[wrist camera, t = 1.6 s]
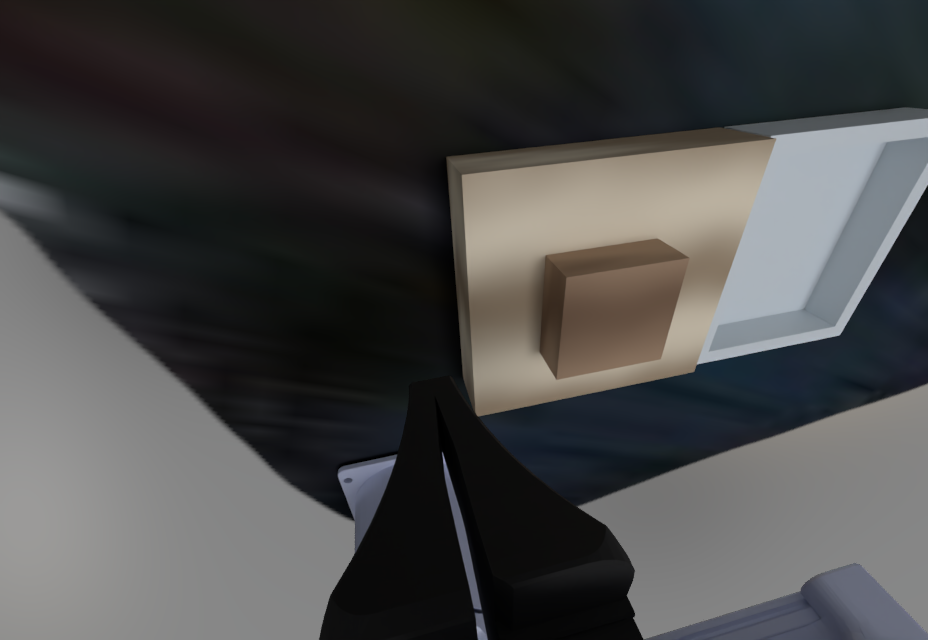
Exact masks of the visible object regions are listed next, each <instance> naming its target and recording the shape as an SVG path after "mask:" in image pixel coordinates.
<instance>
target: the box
mask: <svg viewBox="0 0 928 640" xmlns="http://www.w3.org/2000/svg"><path fill="white" fill-rule="evenodd" d="M724 128H725V129H730V130H735V131H740V132H745V133H751V134H756V135H761V136H766V137H771V138H776V141H775V144H774V147H773V150H772V153H771V155H770V158H769V161H768V164H767V167H766V170H765V172H764V175H763V178H762V181H761V184H760V187H759V189H758V192H757V195H756V198H755V201H754V204H753V206H752V209H751V212H750V215H749V218H748V221H747V223H746V226H745V229H744V232H743V235H742V238H741V240H740V243H739V246H738V249H737V252H736V255H735V257H734V260H733V263H732V266H731V269H730V271H729V274H728V277H727V280H726V283H725V286H724V288H723V291H722V294H721V297H720V300H719V303H718V305H717V308H716V311H715V314H714V317H713V320H712V322H711V325H710V328H709V331H708V334H707V337H706V339H705V342H704V345H703V348H702V351H701V354H700V356H699V359H698V362H697V364H701V363H706V362H711V361H716V360H721V359H726V358H731V357H735V356H740V355H745V354H750V353H755V352H760V351H765V350H770V349H775V348H780V347H785V346H789V345H794V344H799V343H804V342H809V341H814V340H819V339H824V338H829V337H834V336H839V335H840V334H841V332H842V331H843V329H844V327H845V326H846V324H847V322H848V320H849V319H850V317H851V315H852V314H853V312H854V310H855V308H856V307H857V305H858V303H859V302H860V300H861V298H862V296H863V295H864V293H865V291H866V290H867V288H868V286H869V284H870V283H871V281H872V279H873V278H874V276H875V274H876V273H877V271H878V269H879V267H880V266H881V264H882V262H883V261H884V259H885V257H886V255H887V254H888V252H889V250H890V249H891V247H892V245H893V243H894V242H895V240H896V238H897V237H898V235H899V233H900V231H901V230H902V228H903V226H904V225H905V223H906V221H907V220H908V218H909V216H910V214H911V213H912V211H913V209H914V208H915V206H916V204H917V202H918V201H919V199H920V197H921V196H922V194H923V192H924V190H925V189H926V187H927V185H928V109H918V108H907V107H904V108H895V109H886V110H876V111H867V112H858V113H849V114H839V115H830V116H821V117H811V118H802V119H793V120H784V121H774V122H765V123H756V124H746V125H737V126H728V127H724Z"/></svg>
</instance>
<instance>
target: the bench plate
mask: <svg viewBox="0 0 928 640" xmlns="http://www.w3.org/2000/svg"><path fill="white" fill-rule="evenodd" d="M775 141H776V138H771V137H766V136H761V135H756V134H751V133H745V132H740V131H735V130H730V129H725V128H720V127H719V128H709V129H700V130H691V131H681V132H672V133H663V134H654V135H644V136H635V137H626V138H616V139H607V140H598V141H589V142H579V143H570V144H561V145H551V146H542V147H533V148H523V149H514V150H505V151H496V152H486V153H477V154H468V155H458V156H449V157H446V160H447V173H448V186H449V199H450V212H451V225H452V238H453V251H454V264H455V277H456V290H457V303H458V316H459V329H460V342H461V355H462V368H463V379H464V382H465V385H466V388H467V391H468V394H469V398H470V401H471V404H472V407H473V410H474V412H475V413H476V415H477V416H482V415H487V414H492V413H497V412H502V411H507V410H512V409H516V408H521V407H526V406H531V405H536V404H541V403H545V402H550V401H555V400H560V399H565V398H570V397H575V396H579V395H584V394H589V393H594V392H599V391H604V390H608V389H613V388H618V387H623V386H628V385H633V384H638V383H642V382H647V381H652V380H657V379H662V378H667V377H671V376H676V375H681V374H686V373H691V372H694V371H695V368H696V365H697V362H698V359H699V356H700V354H701V351H702V348H703V345H704V342H705V339H706V337H707V334H708V331H709V328H710V325H711V322H712V320H713V317H714V314H715V311H716V308H717V305H718V303H719V300H720V297H721V294H722V291H723V288H724V286H725V283H726V280H727V277H728V274H729V271H730V269H731V266H732V263H733V260H734V257H735V255H736V252H737V249H738V246H739V243H740V240H741V238H742V235H743V232H744V229H745V226H746V223H747V221H748V218H749V215H750V212H751V209H752V206H753V204H754V201H755V198H756V195H757V192H758V189H759V187H760V184H761V181H762V178H763V175H764V172H765V170H766V167H767V164H768V161H769V158H770V155H771V153H772V150H773V147H774V144H775ZM657 238H658V239H660V240H661V241H663V242H665V243H666V244H668V245H669V246H671V247H673V248H674V249H676V250H678V251H679V252H681V253H683V254H684V255H686V256H687V257H689V258H690V259H689V262H688V266H687V269H686V273H685V276H684V280H683V283H682V287H681V290H680V294H679V298H678V301H677V305H676V308H675V312H674V315H673V319H672V322H671V326H670V329H669V333H668V336H667V340H666V343H665V347H664V350H663V354H662V357H661V359H660V360H655V361H650V362H645V363H640V364H634V365H629V366H624V367H619V368H614V369H609V370H604V371H599V372H594V373H589V374H584V375H579V376H574V377H569V378H564V379H559V380H556V378H555V377H554V375H553V374H552V372H551V370H550V369H549V367H548V365H547V364H546V362H545V360H544V359H543V357H542V355H541V354H540V336H541V320H542V304H543V288H544V273H545V257H546V255H550V254H557V253H564V252H570V251H577V250H584V249H590V248H597V247H604V246H610V245H617V244H624V243H630V242H637V241H644V240H650V239H657Z"/></svg>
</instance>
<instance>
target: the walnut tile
mask: <svg viewBox="0 0 928 640" xmlns="http://www.w3.org/2000/svg"><path fill="white" fill-rule="evenodd" d="M689 259H690V258H689V257H687V256H686V255H684V254H683V253H681V252H679V251H678V250H676V249H674V248H673V247H671V246H669V245H668V244H666V243H665V242H663V241H661V240H660V239H658V238H657V239H650V240H644V241H637V242H630V243H624V244H617V245H610V246H604V247H597V248H590V249H584V250H577V251H570V252H564V253H557V254H550V255H546V257H545V273H544V288H543V304H542V320H541V336H540V354H541V355H542V357H543V359H544V360H545V362H546V364H547V365H548V367H549V369H550V370H551V372H552V374H553V375H554V377H555V378H556V380H559V379H564V378H569V377H574V376H579V375H584V374H589V373H594V372H599V371H604V370H609V369H614V368H619V367H624V366H629V365H634V364H640V363H645V362H650V361H655V360H660V359H661V357H662V354H663V350H664V347H665V343H666V340H667V336H668V333H669V329H670V326H671V322H672V319H673V315H674V312H675V308H676V305H677V301H678V298H679V294H680V290H681V287H682V283H683V280H684V276H685V273H686V269H687V266H688V262H689Z"/></svg>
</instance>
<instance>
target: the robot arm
mask: <svg viewBox="0 0 928 640" xmlns="http://www.w3.org/2000/svg"><path fill="white" fill-rule="evenodd" d="M338 478H339V481H340V484H341V486H342V489H343V491H344V494H345V497H346V499H347V502H348V504H349V507H350V510H351V512H352V515H353V517H354V520H355V554H354V556H353V558H352V560H351V562H350V563H349V565H348V567H347V569H346V570H345V572H344V573H343V575H342V577H341V579H340V580H339V582H338V584H337V585H336V587H335V589H334V590H333V592H332V594H331V596H330V598H329V602H328V605H327V609H326V612H325V616H324V620H323V624H322V628H321V633H320V638H319V640H643V638H642V636H641V633H640V632H639V629H638V627H637V625H636V623H635V621H634V619H633V617H634V616H635V613H634V610H633V608H632V606H631V604H630V601H629V600H628V597H627V594H628V591H629V589H630V586H631V584H632V581H633V578H634V572H635V570H634V568H633V566H632V564H631V561H630V559H629V558H628V556H627V554H626V552H625V551H624V549H623V548H622V547H621V545H620V544H619V542H618V541H617V539H616V538H615V536H614V535H613V534H612V532H611V531H610V530H609V529H608V527H607V526H606V525H604V524H602V523H601V522H599V521H598V520H596V519H595V518H593V517H592V516H590V515H588V514H587V513H585V512H584V511H582V510H581V509H579V508H578V507H576V506H575V505H573V504H572V503H571V502H569V501H568V500H566V499H565V498H564V497H562V496H561V495H559V494H558V493H557V492H556V491H554V490H553V489H552V488H550V487H549V486H548V485H547V484H545V483H544V482H543V481H542V480H540V479H539V478H538V477H537V476H535V475H534V474H533V473H532V472H531V471H529V470H528V469H527V468H526V467H525V466H524V465H523V464H522V463H521V462H519V461H518V460H517V459H516V458H515V457H514V456H513V455H512V454H511V453H510V452H509V451H508V450H507V449H506V448H505V447H504V446H503V445H502V444H501V443H500V442H499V441H498V439H497V438H496V437H495V436H494V435H493V434H492V433H491V432H490V431H489V429H488V428H487V427H486V426H485V425H484V423H483V422H482V421H481V420H480V418H479V417H478V416H477V415H476V413H475V412H474V411H473V409H472V408H471V407H470V405H469V404H468V402H467V401H466V400H465V398H464V397H463V395H462V394H461V392H460V390H459V389H458V387H457V385H456V383H455V381H454V379H453V378H452V377H451V376H445V377H440V378H434V379H429V380H424V381H418V382H413V383H411V384H410V385H409V403H408V410H407V417H406V422H405V426H404V431H403V436H402V440H401V443H400V447H399V450H398V454H397V455H393V456H388V457H383V458H379V459H374V460H369V461H364V462H360V463H355V464H350V465H346V466H343V467H341V468H339V470H338ZM644 640H928V633H927V632H926V631H925V630H924V629H923V628H922V627H921V626H920V625H919V624H918V623H917V622H916V621H915V620H914V619H913V618H912V617H911V616H910V615H909V614H908V613H907V612H906V611H905V610H904V609H903V608H902V607H901V606H900V605H899V604H898V603H897V602H896V601H895V600H894V599H893V598H892V597H891V596H890V595H889V594H888V593H887V591H886V590H885V589H884V588H883V587H882V586H881V585H880V584H879V583H878V582H877V581H876V580H875V579H874V578H873V577H872V576H871V575H870V574H869V573H868V572H867V571H866V570H865V569H864V568H863V567H862V566H861V565H860V564H856V563H853V564H850V565H847V566H843V567H840V568H837V569H834V570H830V571H827V572H824V573H821V574H818V575H816V576H815V577H813V578H811V579H810V580H808V581H807V582H806V583H805V584H804V585H803V586H802V588H801V591H800V592H797V593H793V594H790V595H787V596H784V597H780V598H777V599H774V600H771V601H768V602H764V603H761V604H758V605H754V606H751V607H748V608H745V609H741V610H738V611H735V612H732V613H728V614H725V615H722V616H719V617H716V618H713V619H709V620H706V621H703V622H699V623H696V624H693V625H690V626H686V627H683V628H680V629H677V630H673V631H670V632H667V633H664V634H660V635H657V636H654V637H651V638H647V639H644Z"/></svg>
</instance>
